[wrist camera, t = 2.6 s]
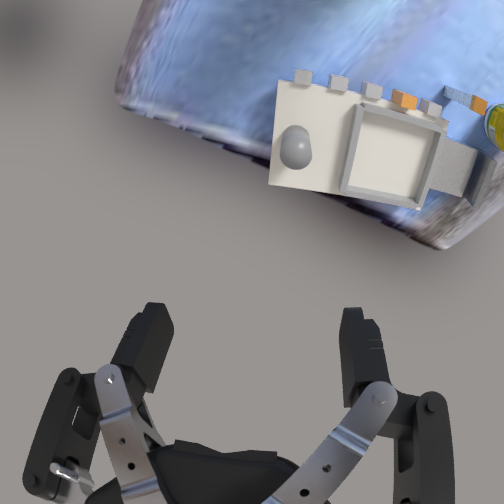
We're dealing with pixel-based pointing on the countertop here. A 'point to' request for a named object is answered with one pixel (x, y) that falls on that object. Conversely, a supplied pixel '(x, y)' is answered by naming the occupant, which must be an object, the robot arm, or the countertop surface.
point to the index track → (464, 159)
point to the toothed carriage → (355, 141)
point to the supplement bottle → (495, 125)
